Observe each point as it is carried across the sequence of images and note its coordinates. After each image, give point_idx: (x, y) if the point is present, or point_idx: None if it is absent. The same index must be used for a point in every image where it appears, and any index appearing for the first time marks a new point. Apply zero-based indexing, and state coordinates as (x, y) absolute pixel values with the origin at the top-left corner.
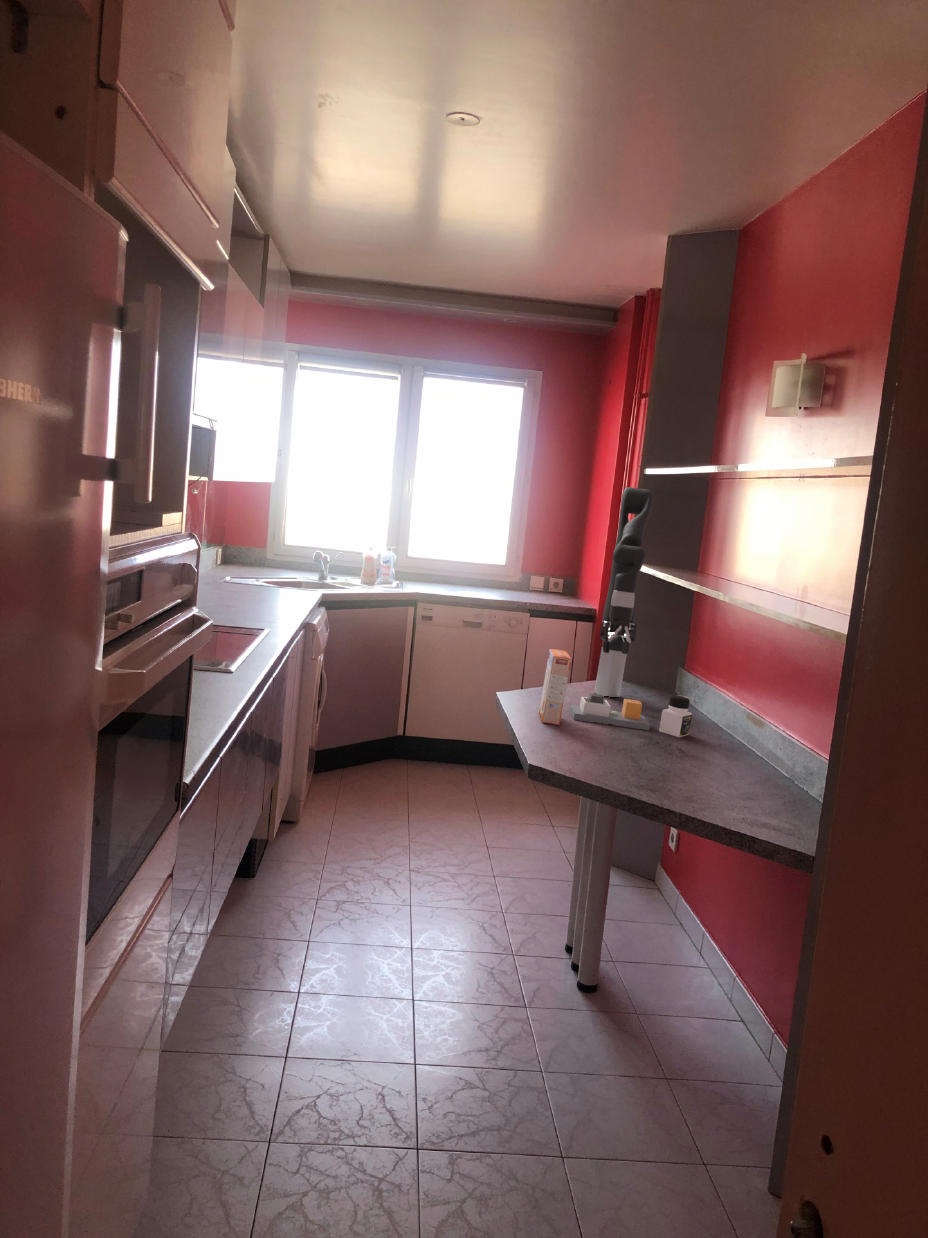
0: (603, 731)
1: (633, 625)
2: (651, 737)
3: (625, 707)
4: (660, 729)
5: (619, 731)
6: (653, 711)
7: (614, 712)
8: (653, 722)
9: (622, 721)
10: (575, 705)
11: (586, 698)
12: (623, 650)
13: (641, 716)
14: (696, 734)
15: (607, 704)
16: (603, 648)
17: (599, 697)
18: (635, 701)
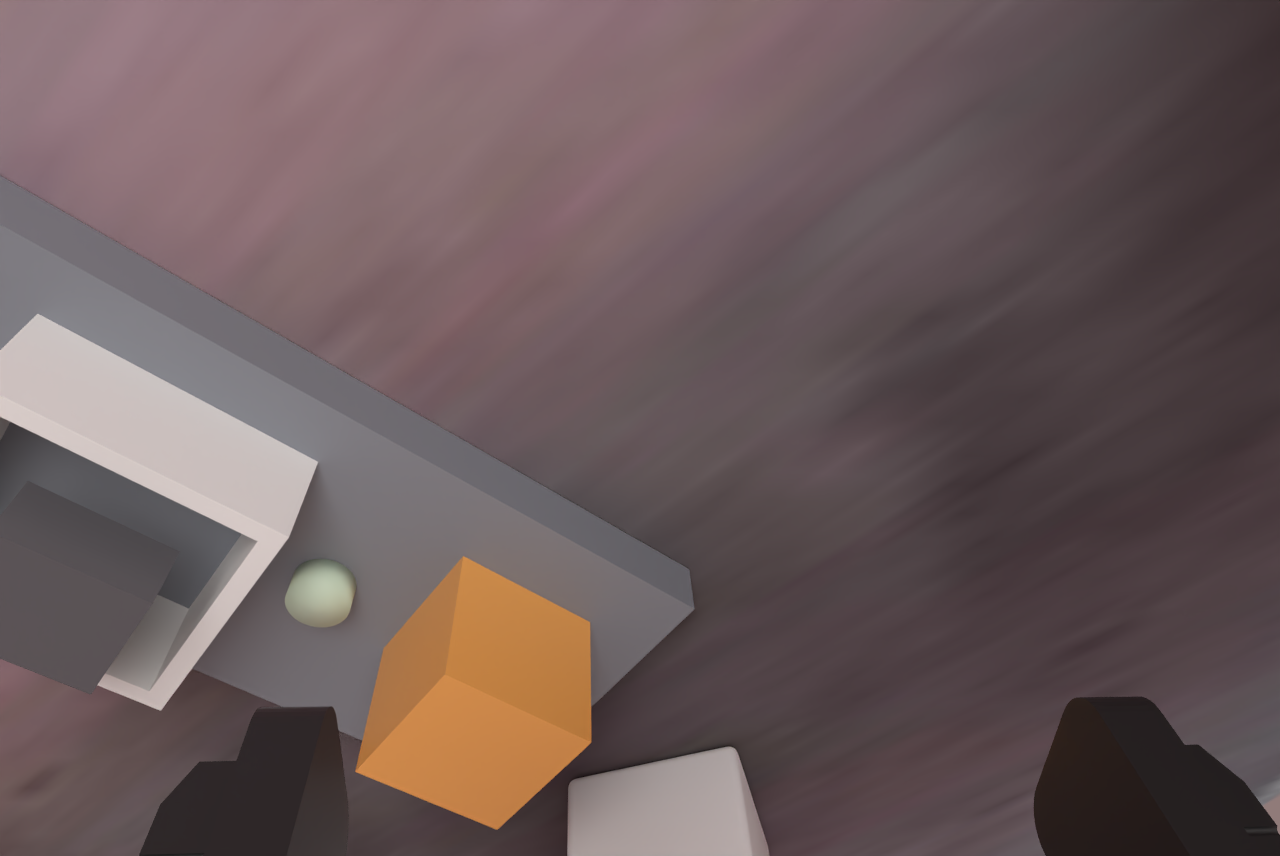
0: (4, 737)
1: None
2: (367, 853)
3: (376, 711)
4: (568, 803)
5: (173, 748)
6: (1261, 310)
7: (298, 619)
8: (786, 605)
9: (289, 700)
10: (17, 240)
11: (33, 427)
12: (1103, 809)
13: (629, 640)
14: (858, 837)
15: (173, 657)
16: (159, 840)
17: (41, 667)
18: (509, 757)
